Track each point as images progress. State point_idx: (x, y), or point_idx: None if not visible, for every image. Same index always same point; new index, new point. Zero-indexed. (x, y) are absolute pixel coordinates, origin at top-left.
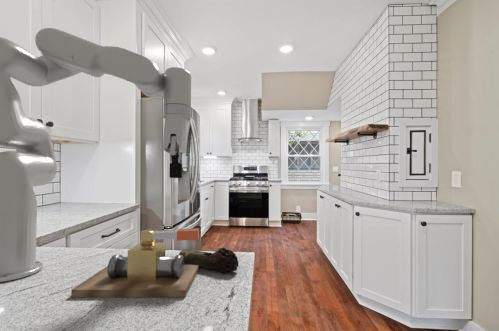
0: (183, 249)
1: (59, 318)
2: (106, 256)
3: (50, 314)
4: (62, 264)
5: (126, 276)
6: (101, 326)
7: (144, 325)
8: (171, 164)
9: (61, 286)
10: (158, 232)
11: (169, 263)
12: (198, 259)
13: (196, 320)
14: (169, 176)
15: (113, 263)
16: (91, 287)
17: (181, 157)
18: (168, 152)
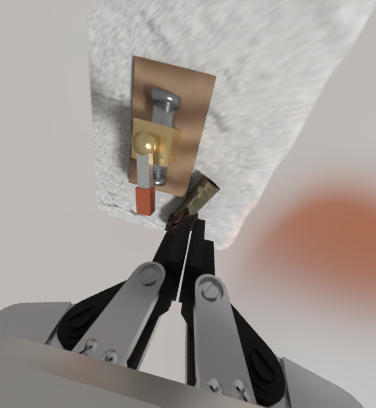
0: (212, 186)
1: (100, 72)
2: (298, 41)
3: (106, 57)
4: None
5: None
6: (92, 120)
7: (95, 152)
8: (165, 263)
9: (170, 23)
10: (138, 161)
11: None
12: (186, 199)
13: (102, 186)
14: (181, 216)
15: (151, 97)
16: (138, 82)
17: (185, 363)
18: (151, 380)
